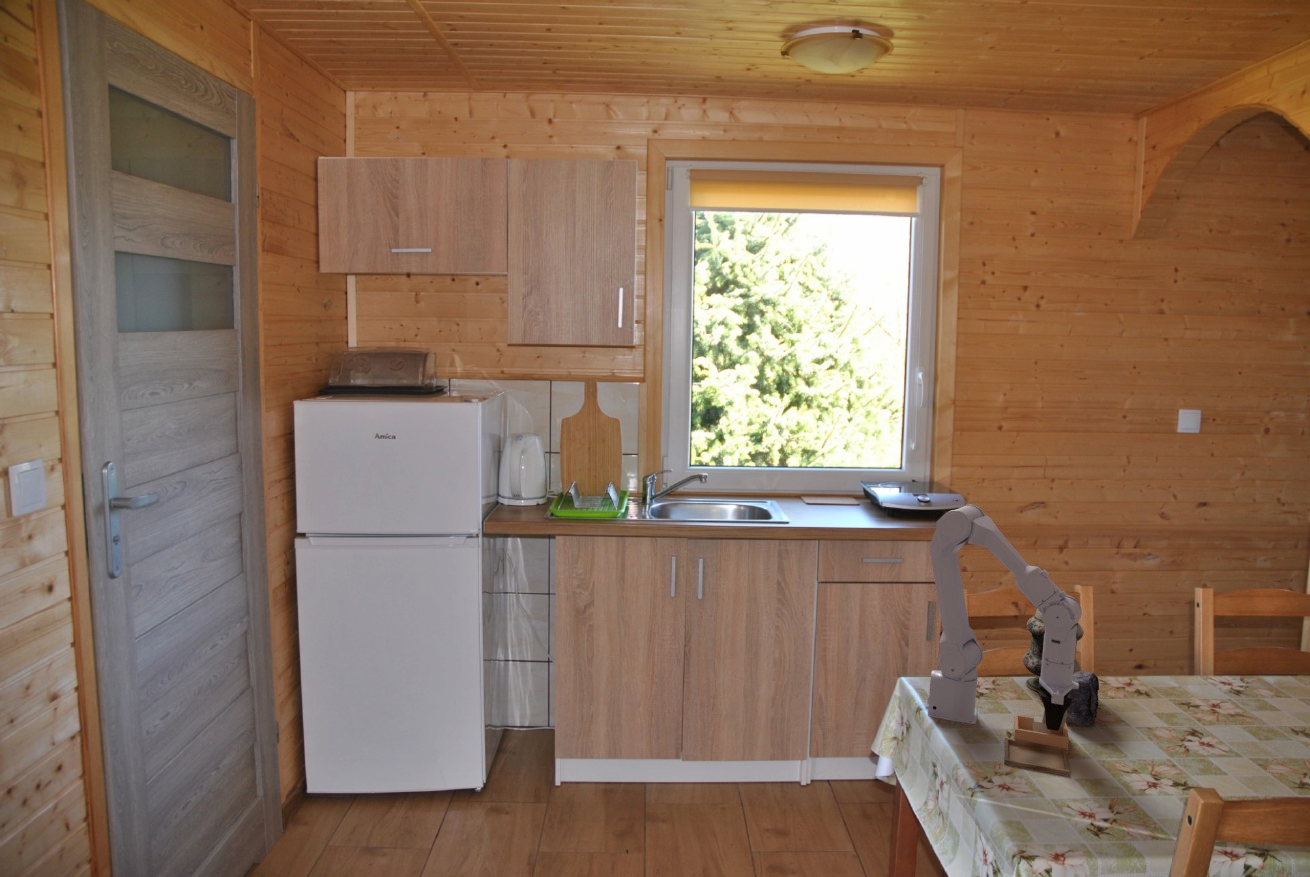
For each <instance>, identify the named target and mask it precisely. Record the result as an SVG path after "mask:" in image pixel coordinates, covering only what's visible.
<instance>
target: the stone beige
mask: <svg viewBox="0 0 1310 877" xmlns="http://www.w3.org/2000/svg"><path fill="white" fill-rule="evenodd" d="M1041 717H1042V722H1044V723H1046V717H1045V709H1044V706H1043V708H1042V712H1041ZM1066 717H1067V710H1066V712H1065V714H1064V716H1063V720H1062V723H1061V726H1060V727H1063V728H1064V726H1065V723H1066V722H1065V721H1066Z"/></svg>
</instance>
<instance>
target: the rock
mask: <svg viewBox="0 0 1310 877" xmlns="http://www.w3.org/2000/svg"><path fill="white" fill-rule="evenodd" d="M1073 682H1077V683H1078V684H1079V688H1078V689H1071V690H1070V693H1069V695H1068V696H1067V698H1072V703H1071V705H1070V706H1069V707H1068V709H1067V717H1066V721H1065V723H1066V724H1067V723H1068V724H1072V725H1076V726H1077V725H1078V726H1079V727H1092V726H1093V725H1094V723H1095V721H1096V718H1097V714H1098V707H1099V690H1100V683H1099V677H1098V676H1097V675H1096V674H1095V673H1094V672H1092V671H1088V672H1087V671H1086V672H1084V671H1081V670H1080V671H1079V672H1076V673H1074V675H1073Z"/></svg>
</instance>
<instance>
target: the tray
mask: <svg viewBox="0 0 1310 877" xmlns="http://www.w3.org/2000/svg"><path fill="white" fill-rule="evenodd" d="M1004 765H1007V766H1011V767H1012V766H1013V767H1018V768H1023V769H1029V770H1034V771H1039V772H1045V773H1051V774H1056V775H1061V776H1066V777H1070V766H1069V758H1068V752H1067V751H1066V748H1060V747H1055V746H1049V745H1043V744H1038V743H1032V742H1026V741H1020V740H1015V739H1014V738H1007V737H1005V738H1004Z"/></svg>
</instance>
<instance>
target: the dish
mask: <svg viewBox="0 0 1310 877" xmlns="http://www.w3.org/2000/svg"><path fill="white" fill-rule="evenodd" d="M1033 720H1034V716H1028V715H1022V714H1021V715H1020V714H1017V713H1016V714H1015V713H1014V719H1013V739H1015V740H1020V741H1026V742H1032V743H1038V744H1043V745H1049V746H1055V747H1060V748H1066V751H1067V753H1068V751H1069V740H1070V739H1069V733H1068V732H1069V730H1068V726H1067V722H1065V726H1064V728H1063V727H1060V728H1059V731H1055V730H1050V734H1047V733H1041V732H1035V731H1033Z"/></svg>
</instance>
